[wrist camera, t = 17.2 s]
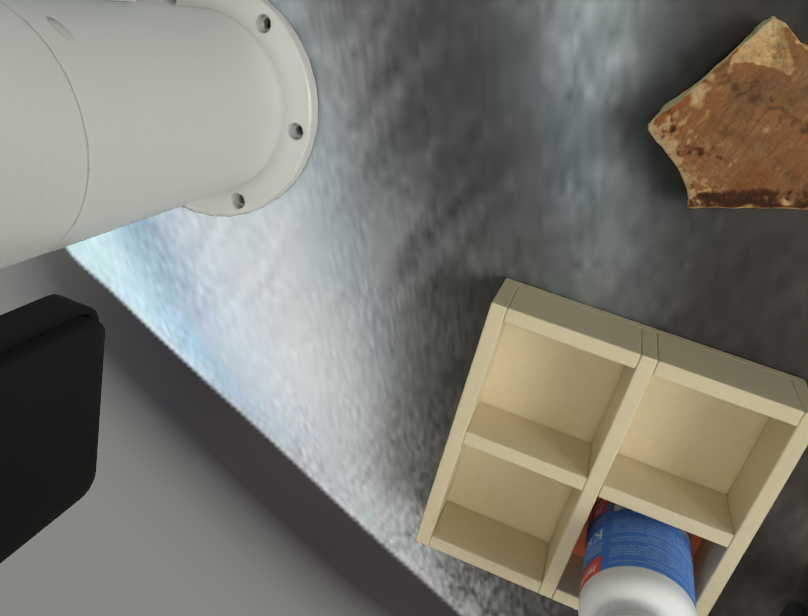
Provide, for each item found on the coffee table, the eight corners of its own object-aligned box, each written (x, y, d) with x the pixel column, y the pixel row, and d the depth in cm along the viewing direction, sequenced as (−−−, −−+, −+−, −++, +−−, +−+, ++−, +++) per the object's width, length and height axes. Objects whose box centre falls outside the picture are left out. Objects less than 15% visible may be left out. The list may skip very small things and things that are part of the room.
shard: (939, 199, 30) (956, 208, 29) (778, 304, 34) (784, 317, 32) (774, 9, 30) (782, 7, 28) (628, 135, 33) (627, 140, 31)
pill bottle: (587, 482, 39) (571, 608, 30) (691, 491, 37) (706, 628, 29) (588, 563, 41) (573, 704, 32) (687, 576, 39) (700, 728, 30)
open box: (434, 499, 44) (414, 540, 40) (506, 277, 37) (491, 302, 34) (680, 601, 41) (684, 656, 37) (804, 379, 34) (823, 418, 31)
